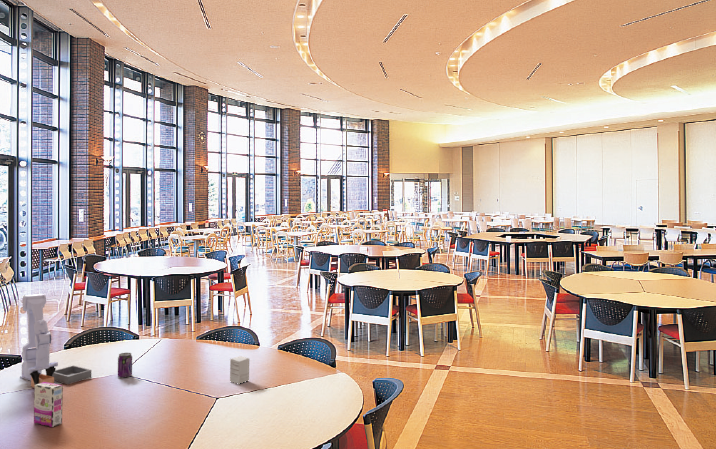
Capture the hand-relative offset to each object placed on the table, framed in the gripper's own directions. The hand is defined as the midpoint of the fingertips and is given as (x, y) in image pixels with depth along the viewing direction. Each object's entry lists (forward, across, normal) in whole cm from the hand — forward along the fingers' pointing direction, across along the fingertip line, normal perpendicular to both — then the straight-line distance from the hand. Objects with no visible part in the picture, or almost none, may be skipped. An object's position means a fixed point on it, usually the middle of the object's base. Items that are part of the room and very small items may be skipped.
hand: (42, 383), depth 257 cm
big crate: (+1, +15, 0) cm, 15 cm away
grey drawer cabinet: (+2, +57, -78) cm, 97 cm away
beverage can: (+2, +32, -20) cm, 38 cm away
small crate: (+1, 0, 0) cm, 1 cm away
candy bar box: (+2, -25, -44) cm, 51 cm away
